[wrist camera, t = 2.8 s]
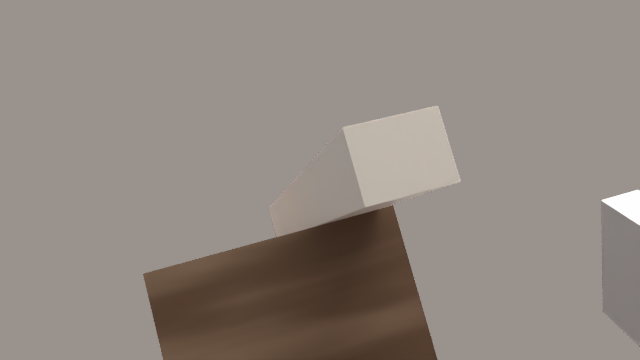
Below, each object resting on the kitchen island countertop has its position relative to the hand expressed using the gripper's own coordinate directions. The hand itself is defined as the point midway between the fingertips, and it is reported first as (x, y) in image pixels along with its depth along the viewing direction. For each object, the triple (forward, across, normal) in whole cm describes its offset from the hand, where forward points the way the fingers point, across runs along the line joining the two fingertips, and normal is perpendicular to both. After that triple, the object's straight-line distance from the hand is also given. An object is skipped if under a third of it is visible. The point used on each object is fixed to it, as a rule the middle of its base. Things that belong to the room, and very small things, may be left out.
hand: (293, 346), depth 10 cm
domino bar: (+16, +2, -6) cm, 17 cm away
